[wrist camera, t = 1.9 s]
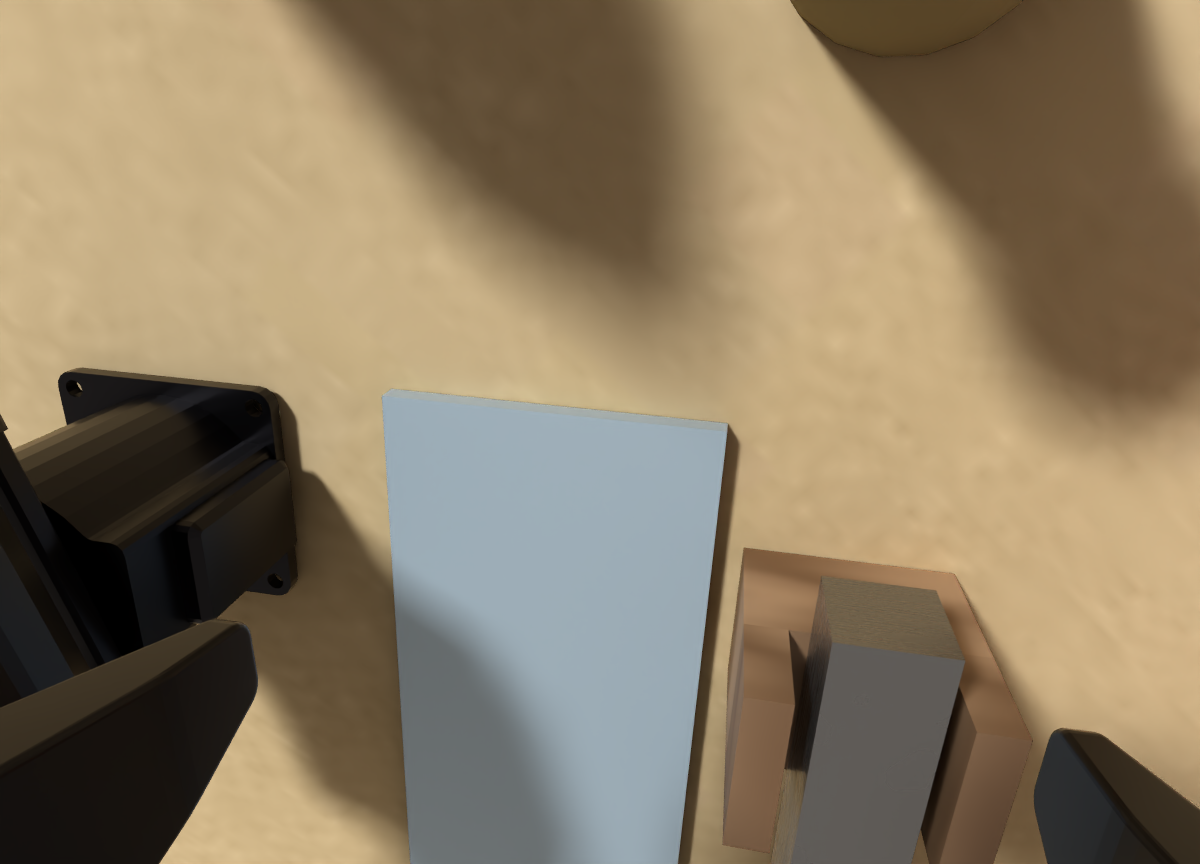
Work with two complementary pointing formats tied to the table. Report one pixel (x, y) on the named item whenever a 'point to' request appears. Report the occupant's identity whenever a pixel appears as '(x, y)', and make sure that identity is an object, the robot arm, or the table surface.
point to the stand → (772, 691)
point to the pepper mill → (902, 22)
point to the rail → (867, 725)
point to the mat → (547, 624)
